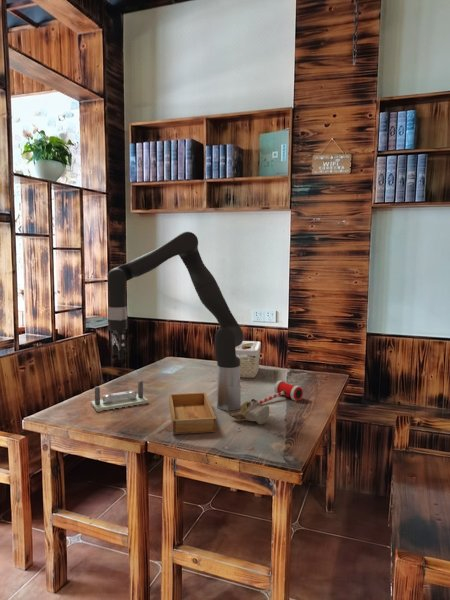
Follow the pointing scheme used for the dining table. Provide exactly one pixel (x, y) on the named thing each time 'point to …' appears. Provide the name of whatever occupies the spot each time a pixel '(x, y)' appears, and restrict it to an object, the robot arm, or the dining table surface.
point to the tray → (191, 413)
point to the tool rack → (100, 406)
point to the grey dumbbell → (119, 397)
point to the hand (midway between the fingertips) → (118, 357)
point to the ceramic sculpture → (252, 412)
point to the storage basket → (249, 358)
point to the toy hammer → (285, 391)
